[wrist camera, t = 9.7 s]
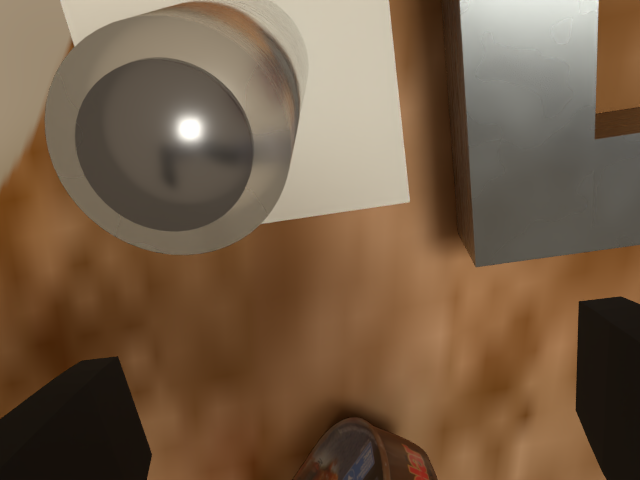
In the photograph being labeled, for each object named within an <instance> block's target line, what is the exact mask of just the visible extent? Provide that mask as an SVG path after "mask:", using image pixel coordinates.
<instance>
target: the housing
mask: <svg viewBox="0 0 640 480" xmlns="http://www.w3.org/2000/svg"><path fill="white" fill-rule="evenodd" d="M441 3H442V17H443V31H444V45H445V58H446V72H447V86H448V100H449V114H450V128H451V142H452V156H453V170H454V183H455V197H456V211H457V225H458V234H459V236H460V238H461V240H462V242H463V244H464V246H465V248H466V249H467V251H468V253H469V255H470V257H471V259H472V261H473V263H474V265H475V267H480V266H487V265H495V264H502V263H509V262H517V261H524V260H531V259H539V258H546V257H553V256H561V255H568V254H575V253H582V252H590V251H597V250H604V249H612V248H619V247H626V246H634V245H640V107H638V108H632V109H625V110H619V111H612V112H606V113H599V114H595V106H596V71H597V35H598V0H441Z"/></svg>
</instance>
